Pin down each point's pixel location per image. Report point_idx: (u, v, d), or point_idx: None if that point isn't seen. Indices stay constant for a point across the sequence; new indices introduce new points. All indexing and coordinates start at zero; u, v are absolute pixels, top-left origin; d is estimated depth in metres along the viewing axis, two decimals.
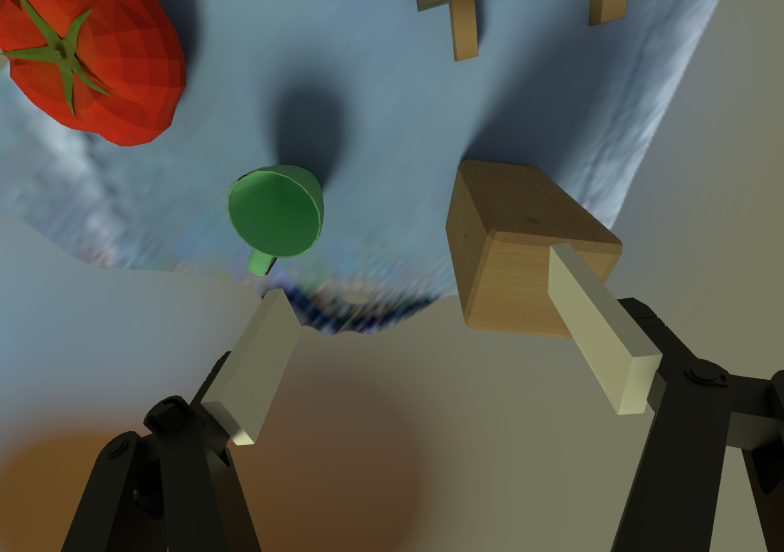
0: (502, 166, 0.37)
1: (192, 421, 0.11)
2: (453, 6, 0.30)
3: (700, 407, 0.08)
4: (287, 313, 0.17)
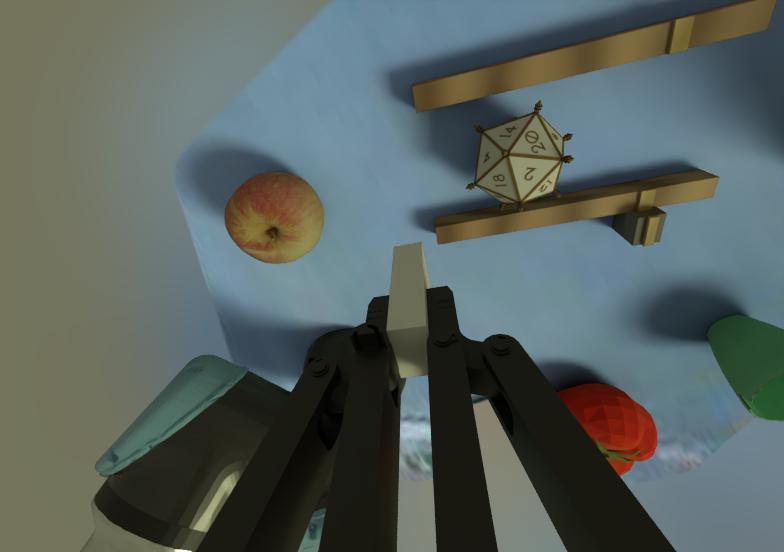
0: None
1: (382, 353, 0.12)
2: (663, 205, 0.32)
3: (449, 363, 0.10)
4: None
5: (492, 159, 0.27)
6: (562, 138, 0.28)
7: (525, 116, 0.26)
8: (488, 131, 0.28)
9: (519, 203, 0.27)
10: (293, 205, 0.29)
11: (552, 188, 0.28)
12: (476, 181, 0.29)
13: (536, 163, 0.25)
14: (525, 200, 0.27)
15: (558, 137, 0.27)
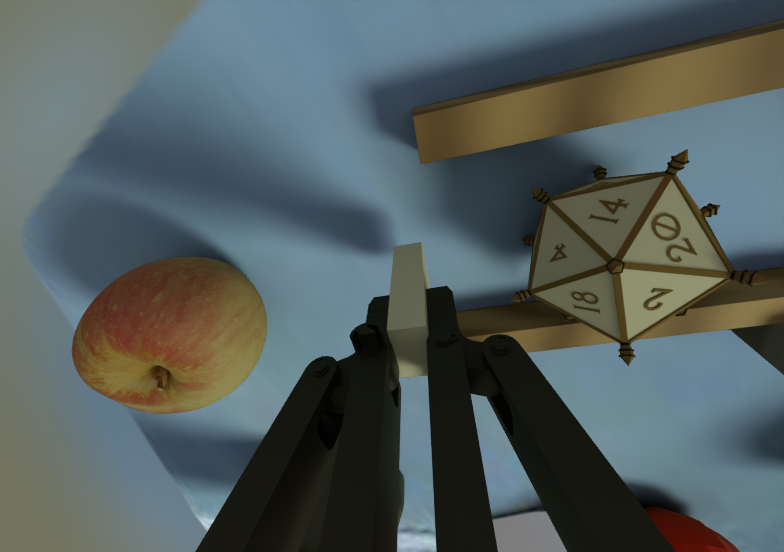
0: None
1: (383, 353, 0.12)
2: None
3: (448, 363, 0.10)
4: None
5: (575, 262, 0.13)
6: (701, 214, 0.14)
7: (645, 180, 0.13)
8: (560, 202, 0.14)
9: (624, 346, 0.14)
10: (192, 334, 0.16)
11: None
12: (533, 290, 0.15)
13: (675, 281, 0.12)
14: None
15: None
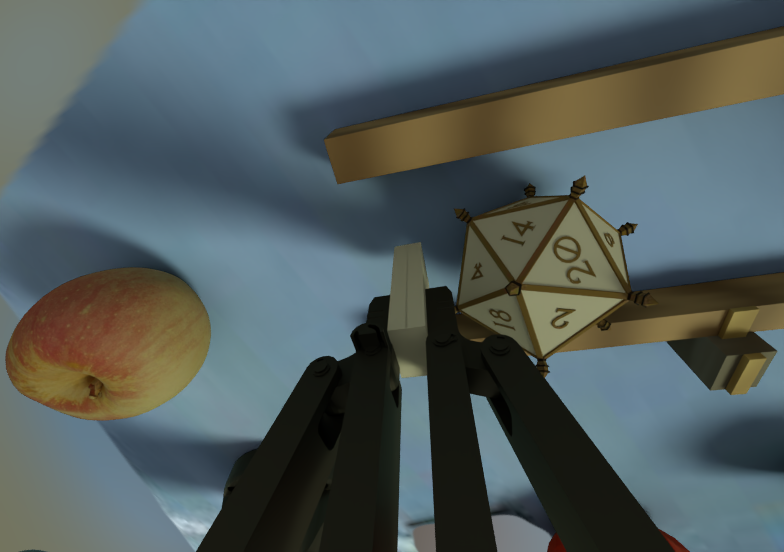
0: None
1: (383, 353, 0.12)
2: (765, 329, 0.19)
3: (448, 363, 0.10)
4: None
5: (488, 282, 0.14)
6: (618, 233, 0.15)
7: (552, 203, 0.13)
8: (480, 222, 0.15)
9: (539, 362, 0.14)
10: (120, 345, 0.16)
11: None
12: (459, 306, 0.16)
13: (576, 302, 0.13)
14: (550, 354, 0.14)
15: (613, 235, 0.14)
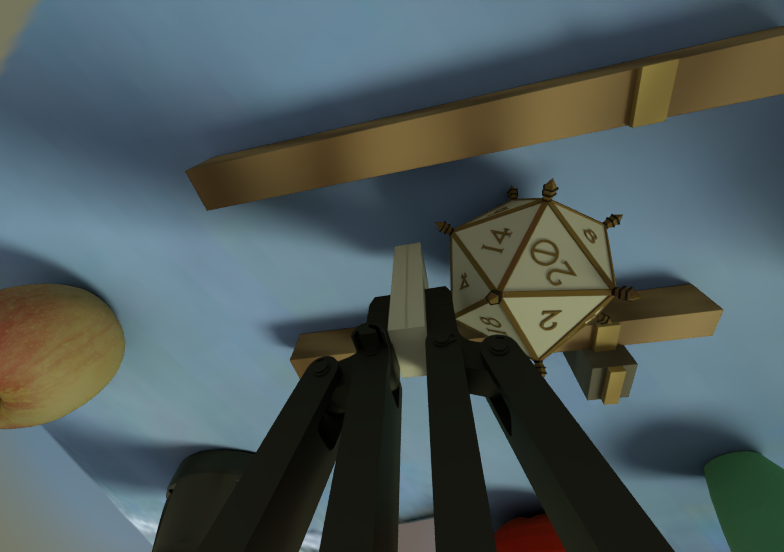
0: None
1: (384, 353, 0.12)
2: (634, 342, 0.20)
3: (447, 363, 0.10)
4: None
5: (474, 291, 0.14)
6: (603, 226, 0.15)
7: (526, 208, 0.13)
8: (461, 233, 0.15)
9: (536, 364, 0.14)
10: (10, 359, 0.17)
11: (595, 315, 0.15)
12: None
13: (560, 303, 0.13)
14: None
15: (596, 230, 0.14)
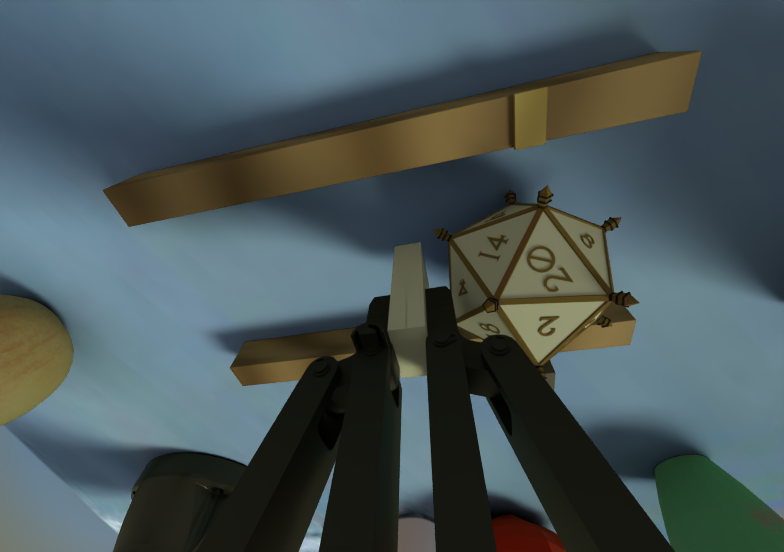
0: None
1: (383, 353, 0.12)
2: None
3: (448, 363, 0.10)
4: None
5: (472, 298, 0.14)
6: (601, 229, 0.15)
7: (522, 214, 0.13)
8: (459, 239, 0.15)
9: None
10: None
11: (595, 319, 0.15)
12: None
13: (558, 309, 0.13)
14: None
15: (594, 234, 0.14)
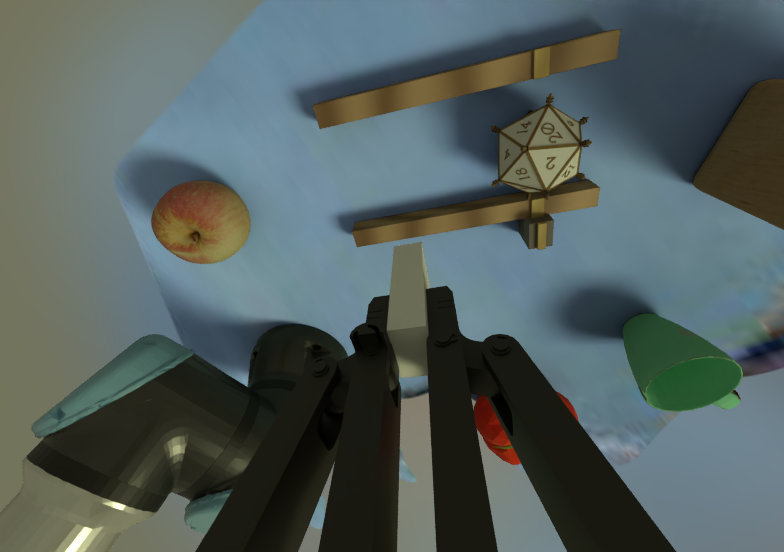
0: (733, 144, 0.30)
1: (383, 353, 0.12)
2: (554, 212, 0.35)
3: (448, 363, 0.10)
4: None
5: (513, 155, 0.28)
6: (578, 123, 0.29)
7: (538, 110, 0.28)
8: (504, 130, 0.29)
9: (545, 192, 0.28)
10: (211, 212, 0.32)
11: (575, 171, 0.29)
12: (500, 177, 0.30)
13: (556, 152, 0.27)
14: (550, 188, 0.29)
15: (574, 123, 0.28)
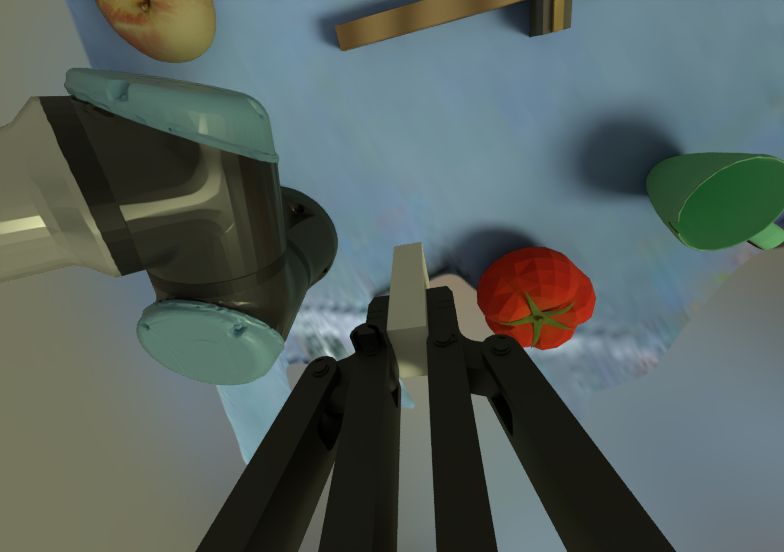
0: None
1: (383, 353, 0.12)
2: None
3: (448, 363, 0.10)
4: None
5: None
6: None
7: None
8: None
9: None
10: None
11: None
12: None
13: None
14: None
15: None
